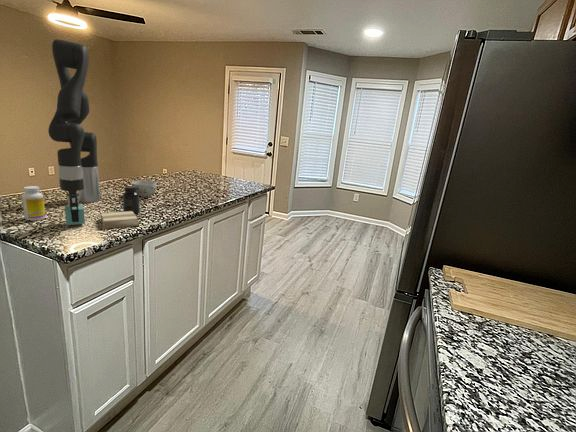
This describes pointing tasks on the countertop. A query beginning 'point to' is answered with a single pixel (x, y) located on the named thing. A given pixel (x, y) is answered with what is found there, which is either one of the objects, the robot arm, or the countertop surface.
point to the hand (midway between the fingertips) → (75, 219)
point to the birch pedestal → (119, 219)
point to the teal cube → (69, 217)
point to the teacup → (145, 187)
